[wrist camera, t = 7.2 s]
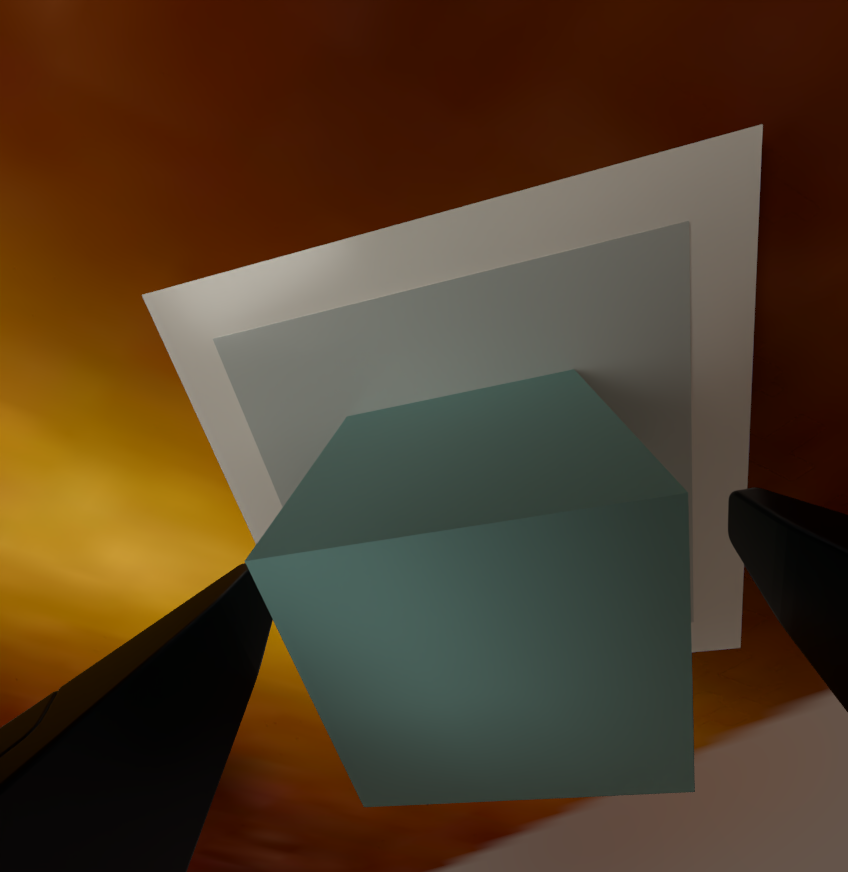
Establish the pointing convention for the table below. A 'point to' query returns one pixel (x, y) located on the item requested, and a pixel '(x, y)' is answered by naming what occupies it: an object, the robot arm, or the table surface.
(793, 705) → the table surface
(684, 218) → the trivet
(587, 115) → the table surface
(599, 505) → the cube
